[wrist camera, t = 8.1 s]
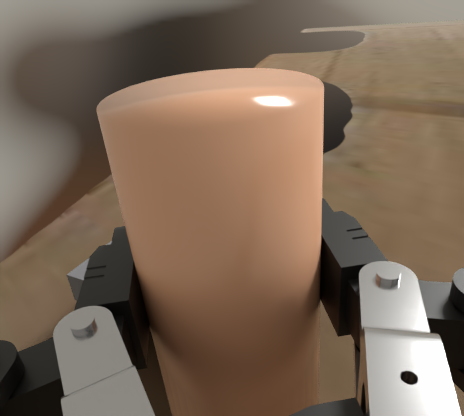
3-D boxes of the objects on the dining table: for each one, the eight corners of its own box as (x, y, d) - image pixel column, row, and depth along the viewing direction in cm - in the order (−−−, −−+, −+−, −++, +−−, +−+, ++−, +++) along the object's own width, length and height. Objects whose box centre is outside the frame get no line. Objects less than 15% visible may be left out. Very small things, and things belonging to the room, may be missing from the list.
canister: (220, 353, 18) (179, 67, 12) (334, 393, 16) (349, 69, 10) (150, 458, 14) (45, 118, 9) (287, 531, 12) (269, 138, 6)
